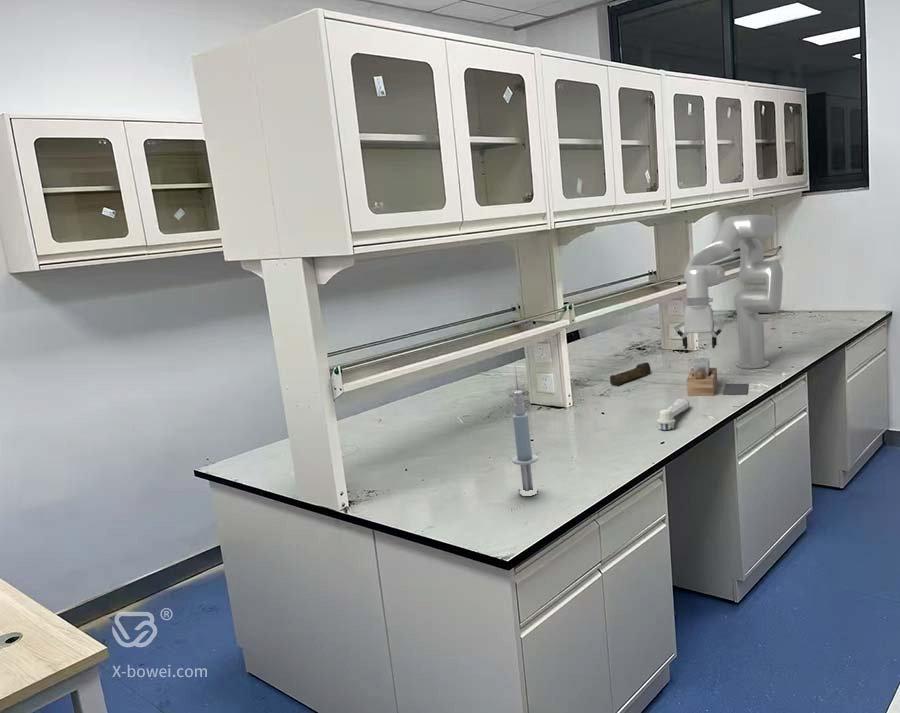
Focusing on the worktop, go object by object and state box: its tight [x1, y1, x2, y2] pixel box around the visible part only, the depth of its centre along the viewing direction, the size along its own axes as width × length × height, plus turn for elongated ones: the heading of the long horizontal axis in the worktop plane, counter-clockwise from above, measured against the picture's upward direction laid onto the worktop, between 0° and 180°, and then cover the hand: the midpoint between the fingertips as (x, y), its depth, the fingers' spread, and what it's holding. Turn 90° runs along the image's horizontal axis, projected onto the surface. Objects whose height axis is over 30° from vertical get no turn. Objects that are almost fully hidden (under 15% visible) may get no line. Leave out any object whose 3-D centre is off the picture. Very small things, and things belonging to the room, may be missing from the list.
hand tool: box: [609, 361, 652, 387], centre depth 291 cm, size 23×5×6 cm, turn 124°
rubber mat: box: [722, 382, 749, 396], centre depth 260 cm, size 14×8×1 cm, turn 156°
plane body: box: [686, 367, 718, 397], centre depth 264 cm, size 18×9×10 cm, turn 156°
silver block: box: [692, 357, 711, 377], centre depth 264 cm, size 7×5×8 cm
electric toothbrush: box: [656, 398, 690, 431], centre depth 235 cm, size 5×7×25 cm
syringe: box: [511, 367, 539, 491], centre depth 186 cm, size 6×7×36 cm
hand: (699, 347), depth 262 cm, fingers open, 9 cm apart
